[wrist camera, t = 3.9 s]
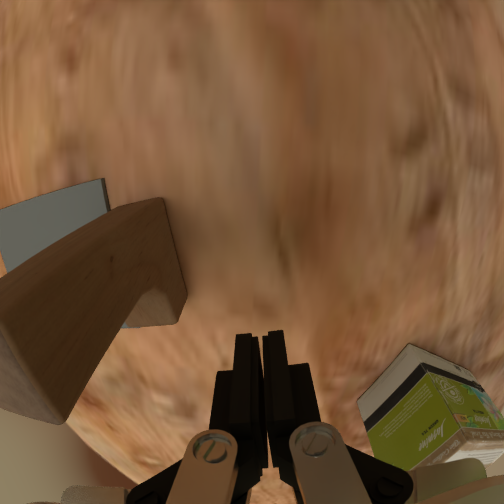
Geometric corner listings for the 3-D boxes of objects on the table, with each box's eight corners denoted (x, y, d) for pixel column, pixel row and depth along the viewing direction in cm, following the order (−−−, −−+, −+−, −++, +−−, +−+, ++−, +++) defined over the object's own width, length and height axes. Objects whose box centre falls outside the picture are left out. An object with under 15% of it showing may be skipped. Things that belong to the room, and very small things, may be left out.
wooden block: (189, 296, 25) (123, 489, 9) (143, 302, 26) (52, 469, 9) (164, 195, 22) (-6, 321, 5) (115, 206, 23) (-58, 320, 6)
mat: (103, 177, 22) (100, 178, 21) (142, 324, 27) (140, 327, 26) (-6, 211, 22) (-10, 213, 22) (31, 324, 27) (29, 326, 27)
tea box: (470, 366, 30) (520, 440, 16) (424, 415, 33) (458, 491, 19) (407, 339, 27) (471, 444, 14) (352, 400, 30) (384, 505, 17)
